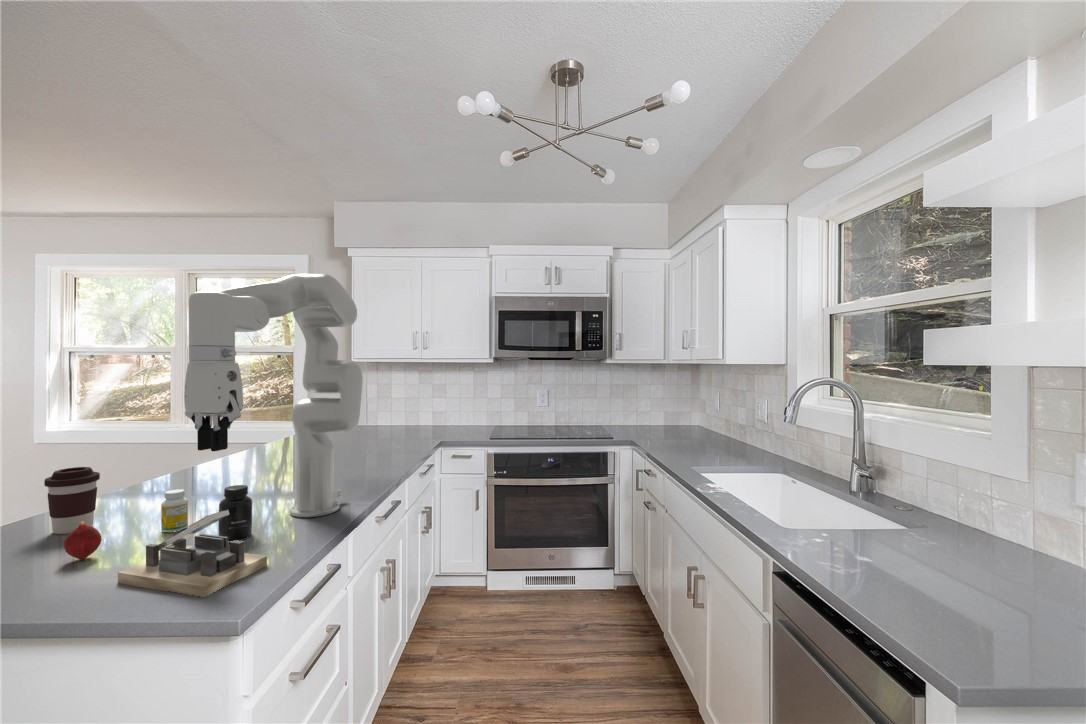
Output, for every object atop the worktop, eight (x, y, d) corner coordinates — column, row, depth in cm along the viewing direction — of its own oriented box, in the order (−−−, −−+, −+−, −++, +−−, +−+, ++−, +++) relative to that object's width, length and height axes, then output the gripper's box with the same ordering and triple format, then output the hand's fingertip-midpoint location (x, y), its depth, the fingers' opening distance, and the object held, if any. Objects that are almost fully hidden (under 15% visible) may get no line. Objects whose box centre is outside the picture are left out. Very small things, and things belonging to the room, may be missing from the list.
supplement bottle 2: (236, 543, 113) (236, 491, 113) (211, 541, 115) (211, 490, 115) (259, 533, 120) (258, 484, 120) (235, 531, 122) (235, 482, 121)
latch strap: (175, 545, 102) (172, 538, 102) (229, 514, 98) (227, 508, 98) (155, 552, 98) (153, 546, 98) (211, 521, 94) (208, 514, 94)
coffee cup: (42, 540, 115) (42, 476, 115) (46, 529, 123) (46, 469, 122) (99, 530, 122) (99, 470, 121) (100, 520, 129) (100, 463, 129)
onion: (107, 556, 106) (107, 519, 106) (75, 566, 101) (75, 527, 101) (90, 552, 108) (90, 516, 108) (57, 562, 103) (57, 524, 103)
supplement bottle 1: (184, 531, 121) (184, 492, 121) (158, 534, 119) (157, 495, 119) (190, 524, 126) (190, 487, 126) (165, 527, 124) (165, 489, 124)
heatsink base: (188, 554, 107) (188, 526, 107) (266, 565, 102) (266, 535, 102) (117, 582, 94) (117, 550, 94) (203, 597, 88) (203, 563, 88)
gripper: (261, 355, 97) (261, 448, 98) (198, 355, 102) (198, 444, 102) (228, 355, 90) (228, 455, 90) (161, 355, 94) (162, 451, 95)
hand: (212, 448), depth 96 cm, fingers open, 2 cm apart
